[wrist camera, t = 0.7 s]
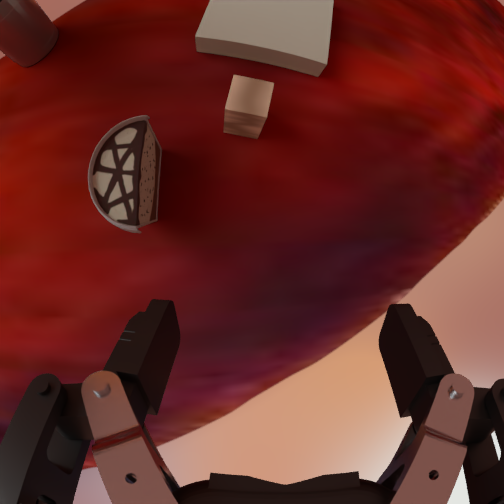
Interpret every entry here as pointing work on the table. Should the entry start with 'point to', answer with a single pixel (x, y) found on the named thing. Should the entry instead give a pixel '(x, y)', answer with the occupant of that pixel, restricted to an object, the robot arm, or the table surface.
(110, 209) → the food container
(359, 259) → the table surface
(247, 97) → the birch block
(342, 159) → the table surface
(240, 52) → the base board
